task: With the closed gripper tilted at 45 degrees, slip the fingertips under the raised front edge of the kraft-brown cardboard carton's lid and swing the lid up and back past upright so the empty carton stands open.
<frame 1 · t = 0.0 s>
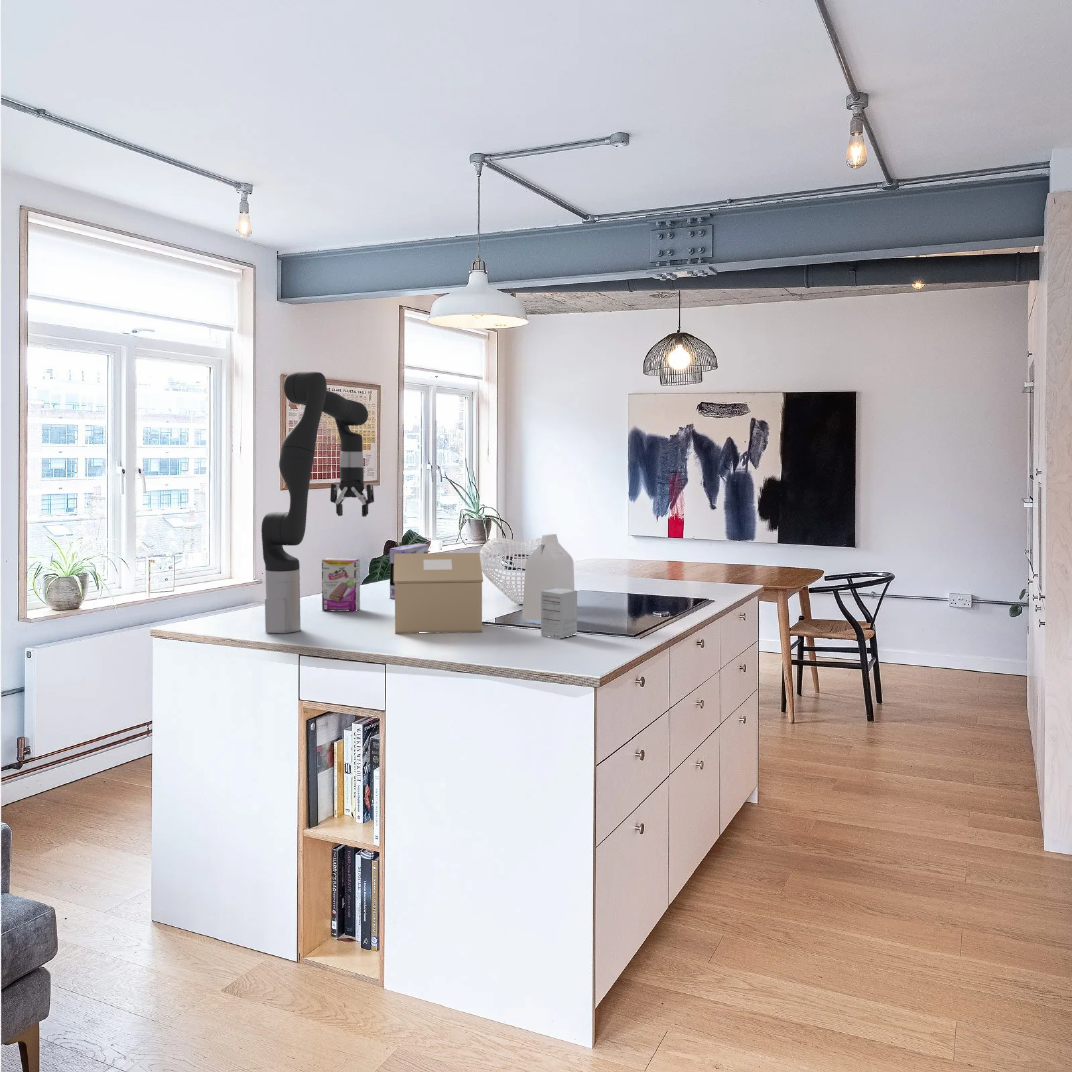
hand: (352, 516, 307), 29 cm above the table, tool pointing down, fingers open, 8 cm apart
cake pan box: (408, 596, 332), on the table
white mesh basket: (521, 605, 313), on the table
milk: (548, 622, 283), on the table
carton lid: (437, 567, 270), point 18 cm above the table, hinge at 22.0°
supplement box: (558, 636, 261), on the table
carton: (438, 627, 272), on the table
candy bar box: (341, 611, 301), on the table
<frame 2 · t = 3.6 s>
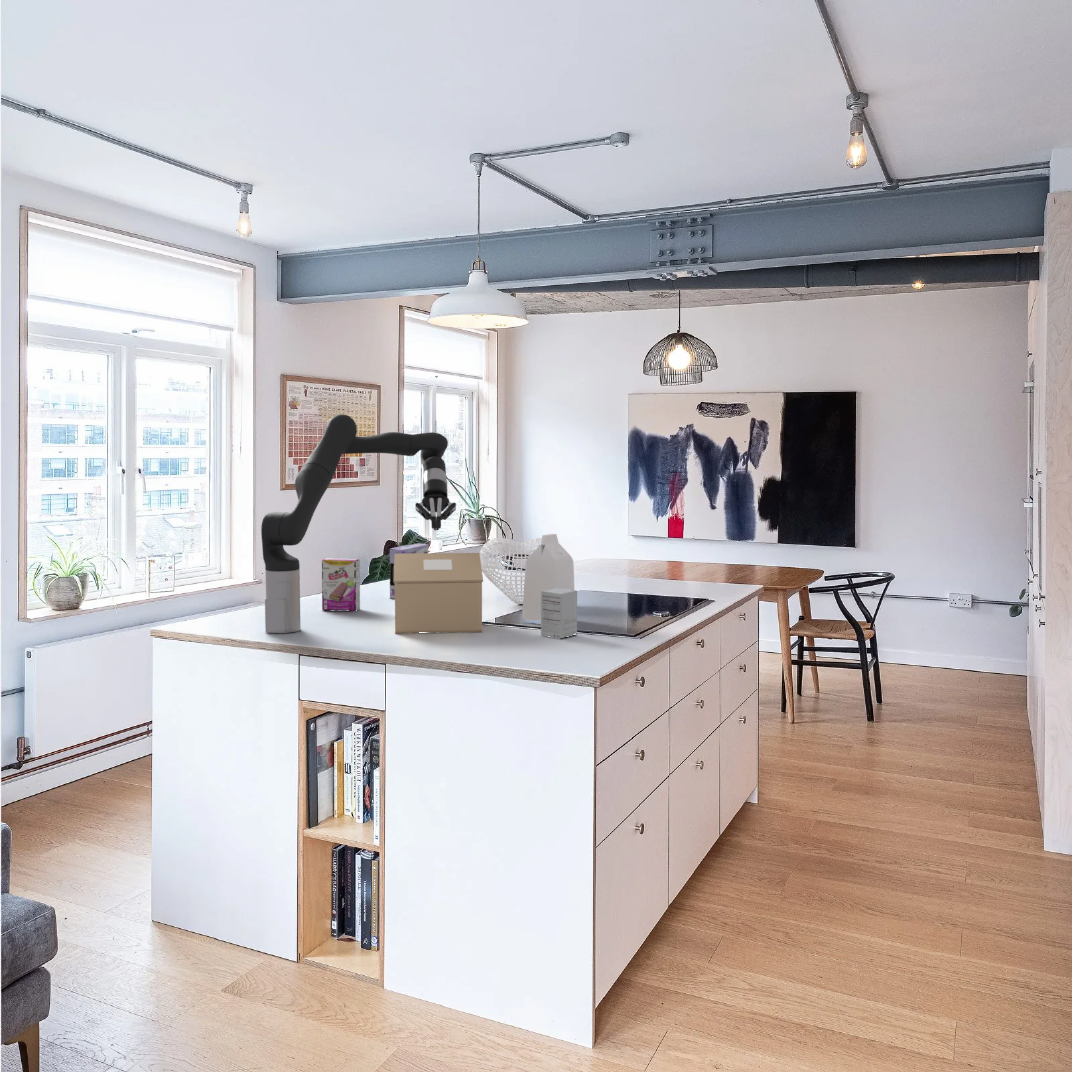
hand: (436, 528, 286), 27 cm above the table, tool tilted 45°, fingers closed
nothing on the table moved.
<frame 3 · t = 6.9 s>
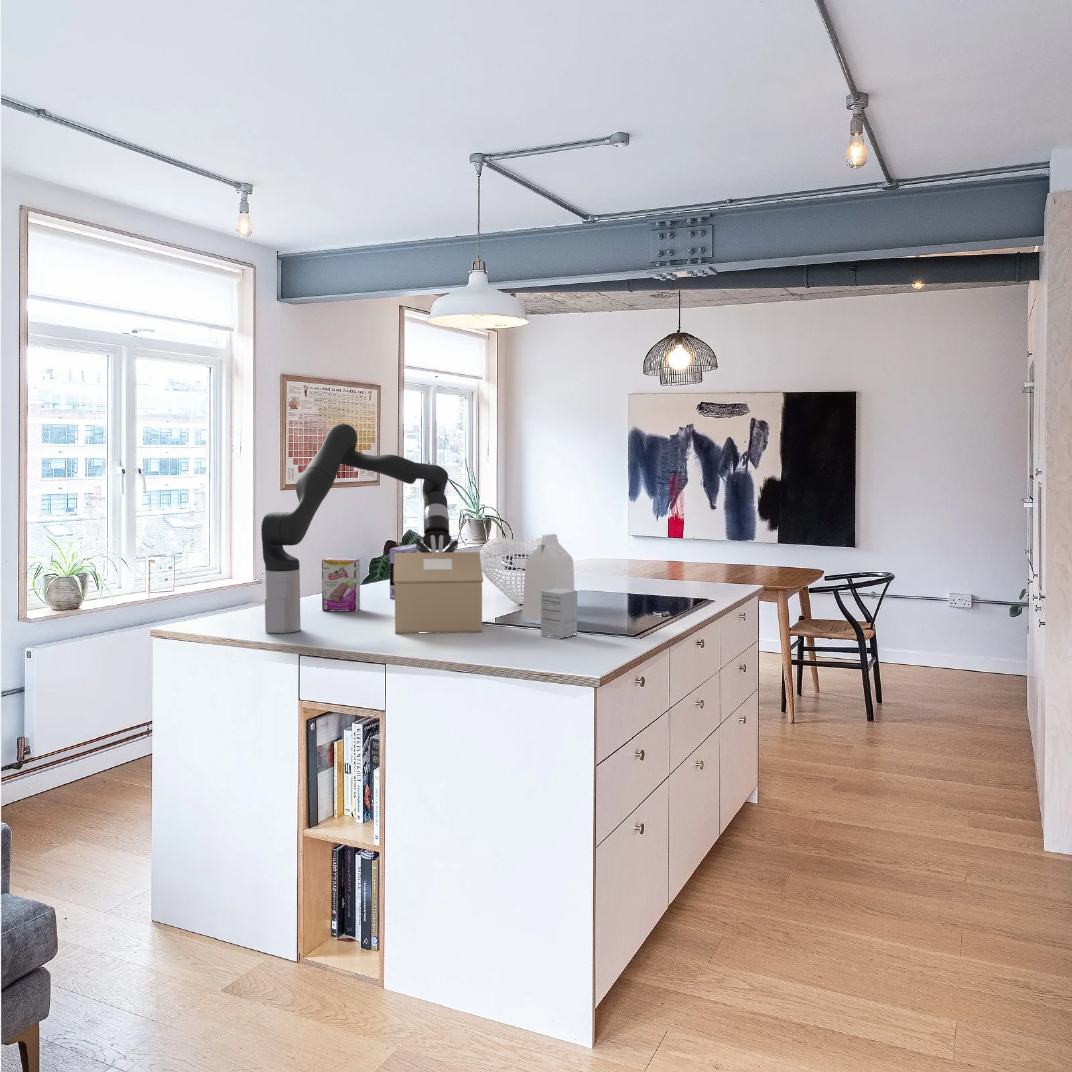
hand: (437, 567, 275), 17 cm above the table, tool tilted 45°, fingers closed
carton lid: (437, 566, 270), point 18 cm above the table, hinge at 22.9°, touching gripper
everything else where it was.
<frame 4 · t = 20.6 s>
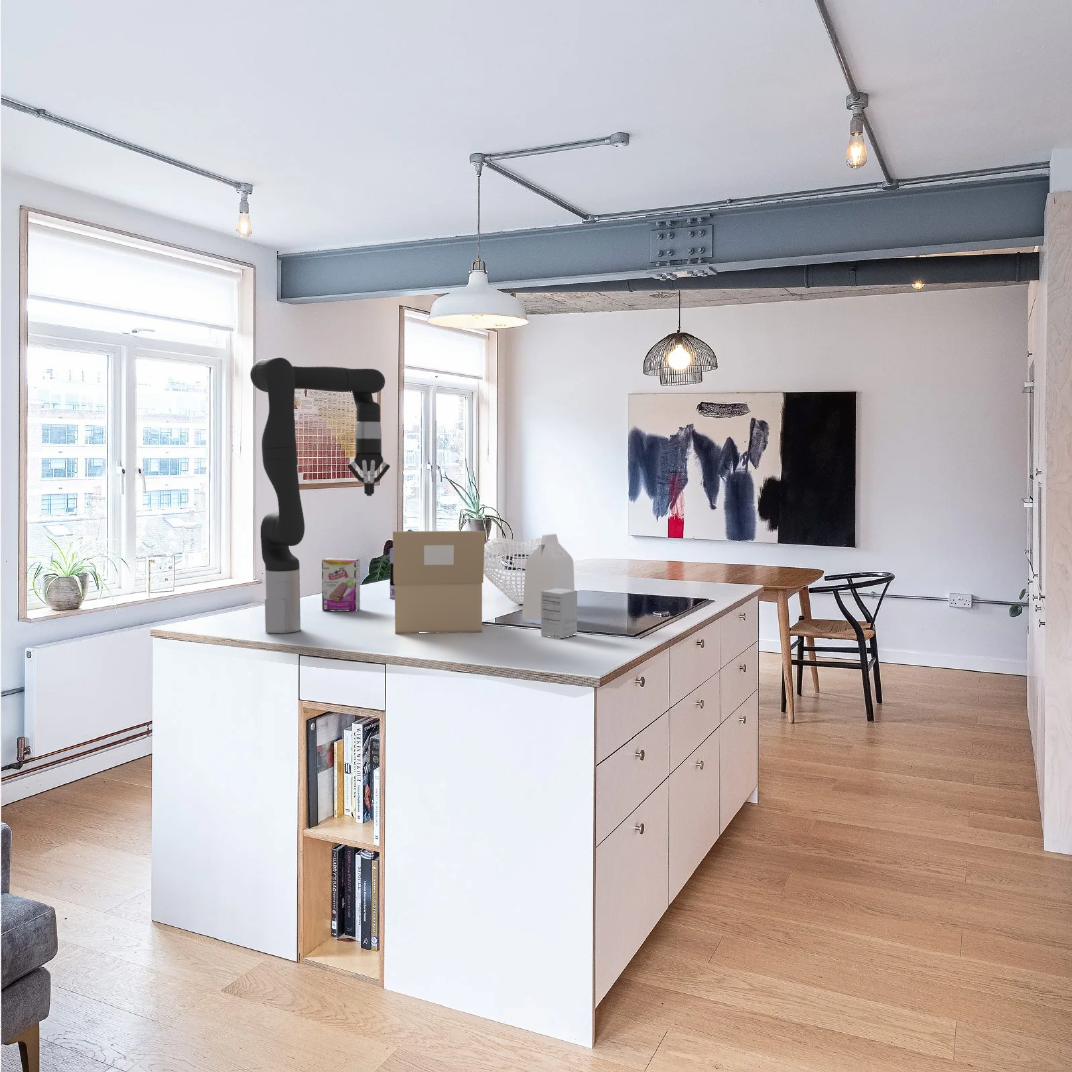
hand: (369, 495, 284), 37 cm above the table, tool pointing down, fingers closed
carton lid: (438, 557, 259), point 21 cm above the table, hinge at 112.9°
everything else where it was.
at the end: carton lid at +113° (first picture: +22°) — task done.
